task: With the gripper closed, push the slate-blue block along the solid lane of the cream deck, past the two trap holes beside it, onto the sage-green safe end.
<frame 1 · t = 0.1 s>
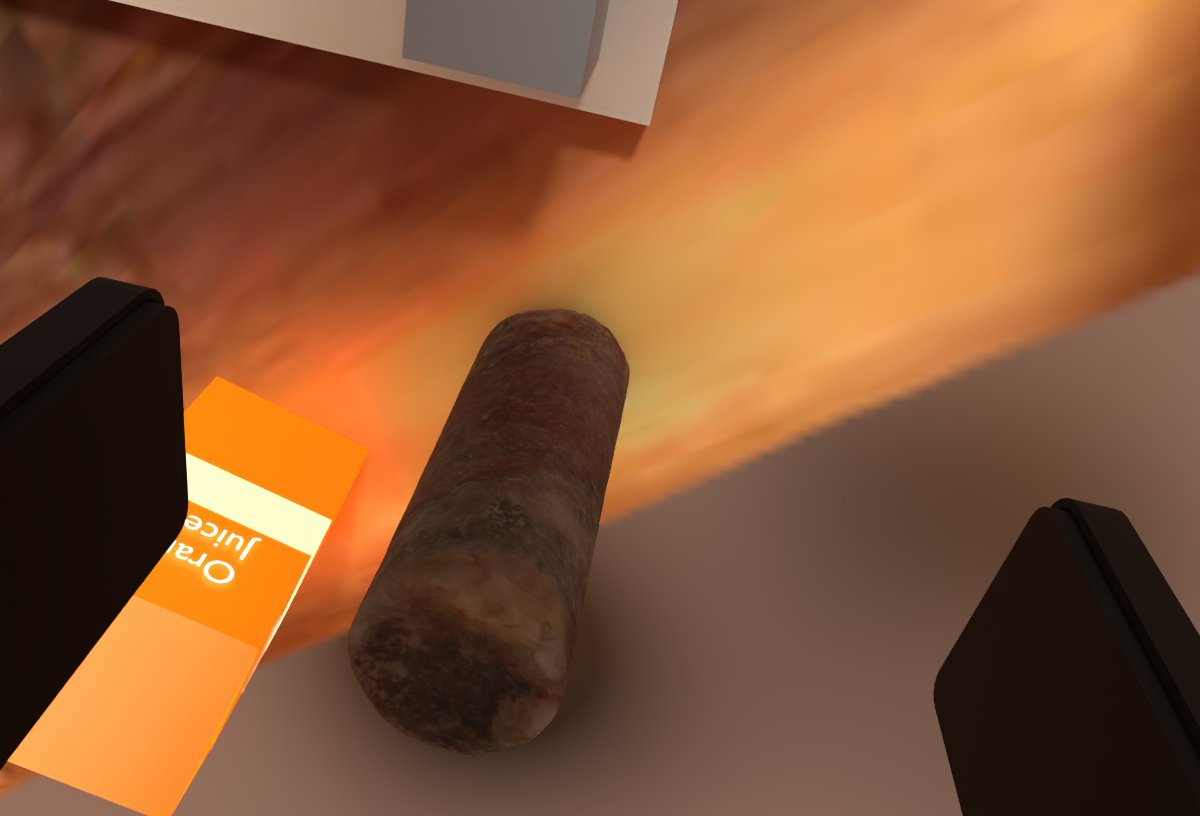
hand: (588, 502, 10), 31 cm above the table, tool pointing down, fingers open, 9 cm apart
brown piece: (553, 362, 45), on the table
orange juice: (275, 459, 51), on the table
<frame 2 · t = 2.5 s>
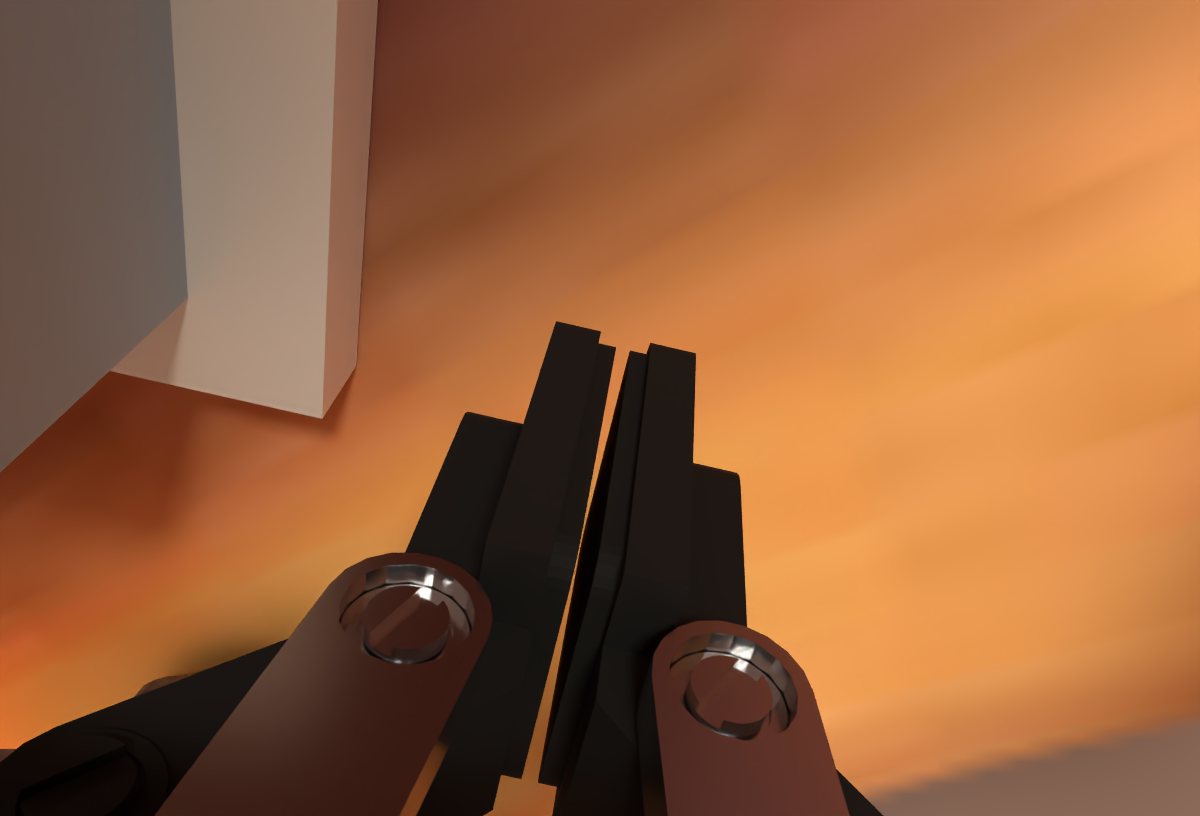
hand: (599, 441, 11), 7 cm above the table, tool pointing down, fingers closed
brown piece: (268, 721, 27), on the table
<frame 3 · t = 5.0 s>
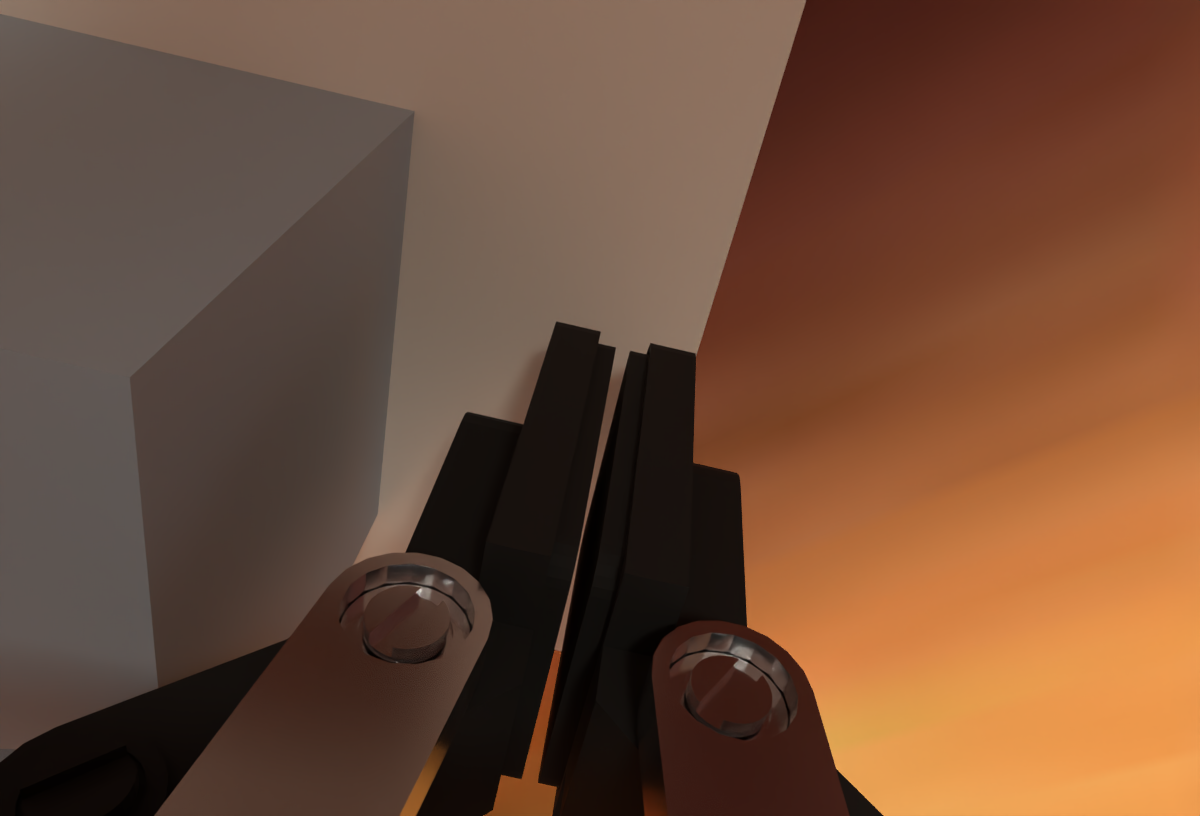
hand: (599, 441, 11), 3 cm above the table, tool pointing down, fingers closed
block: (166, 287, 12), point 2 cm above the table, touching gripper
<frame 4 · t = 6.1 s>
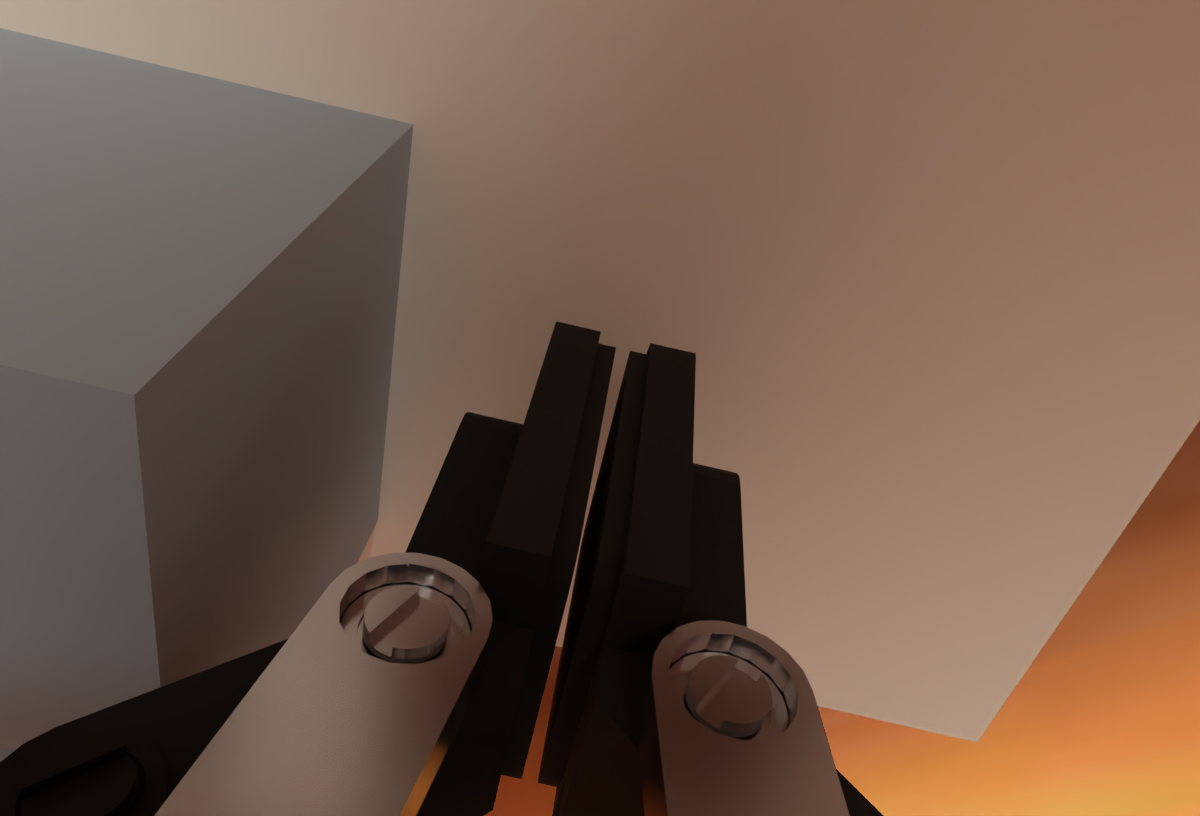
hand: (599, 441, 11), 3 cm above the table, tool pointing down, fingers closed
block: (169, 297, 12), point 2 cm above the table, touching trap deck
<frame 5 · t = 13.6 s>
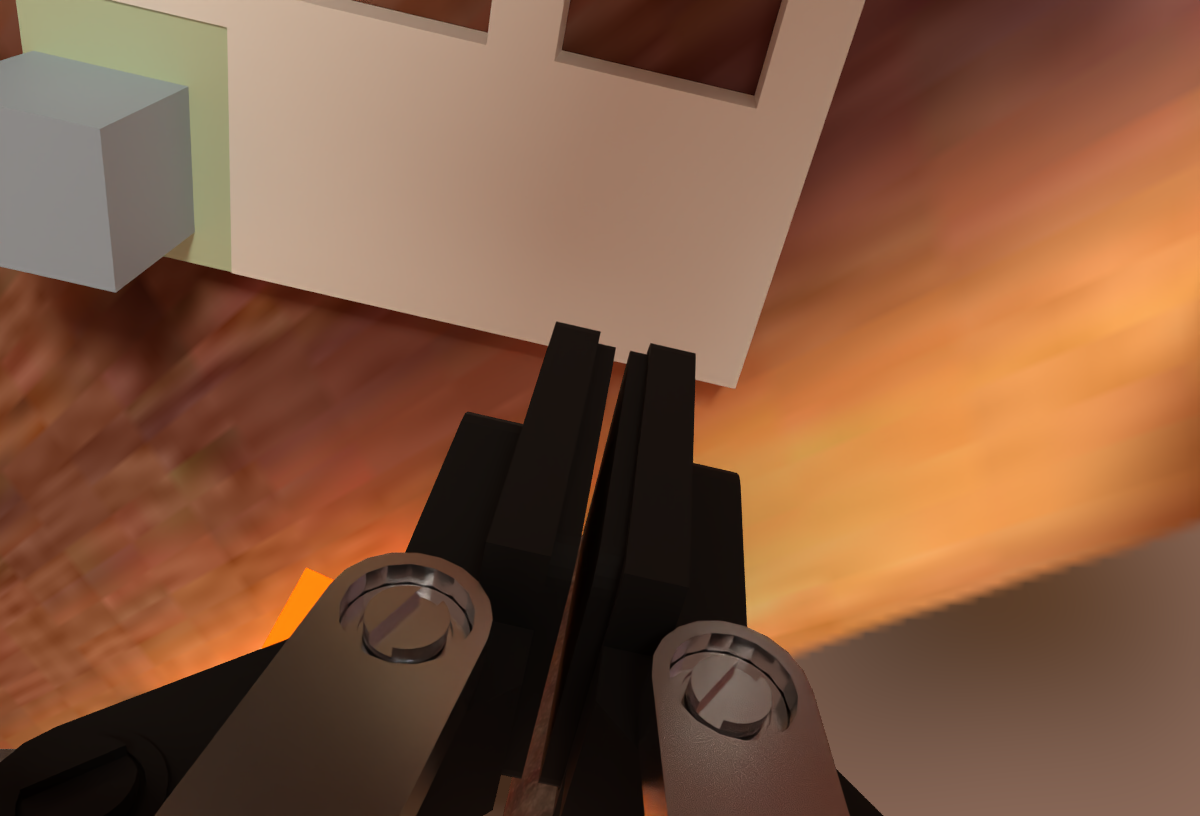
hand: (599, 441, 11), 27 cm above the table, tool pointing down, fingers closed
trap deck: (428, 60, 35), on the table
block: (117, 145, 36), point 2 cm above the table, touching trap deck
brown piece: (628, 564, 48), on the table
orange juice: (356, 636, 53), on the table
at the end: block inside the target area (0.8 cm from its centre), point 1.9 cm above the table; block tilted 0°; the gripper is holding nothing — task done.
